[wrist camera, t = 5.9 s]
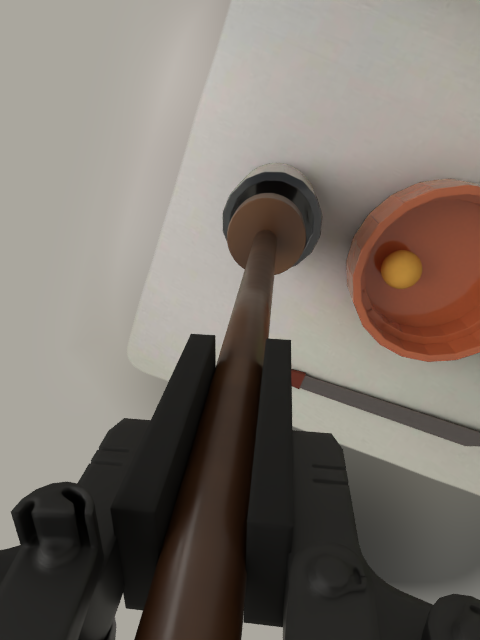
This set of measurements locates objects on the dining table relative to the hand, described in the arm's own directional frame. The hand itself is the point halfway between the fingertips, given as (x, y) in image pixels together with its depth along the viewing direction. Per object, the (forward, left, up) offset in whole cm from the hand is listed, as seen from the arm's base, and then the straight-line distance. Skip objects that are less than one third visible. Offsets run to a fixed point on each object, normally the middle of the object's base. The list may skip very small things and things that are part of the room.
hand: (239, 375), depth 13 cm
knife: (+27, -8, -35) cm, 45 cm away
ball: (+14, +5, -32) cm, 35 cm away
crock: (0, 0, -35) cm, 35 cm away
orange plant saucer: (+16, +8, -35) cm, 39 cm away
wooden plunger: (0, 0, -20) cm, 20 cm away
